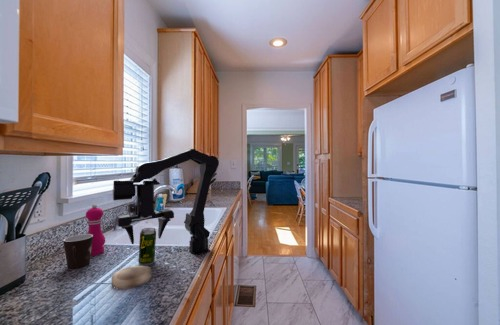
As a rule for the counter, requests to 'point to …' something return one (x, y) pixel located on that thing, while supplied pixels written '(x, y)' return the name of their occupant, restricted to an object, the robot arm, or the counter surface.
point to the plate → (131, 277)
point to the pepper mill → (95, 229)
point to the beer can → (147, 246)
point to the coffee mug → (78, 250)
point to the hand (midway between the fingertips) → (146, 241)
